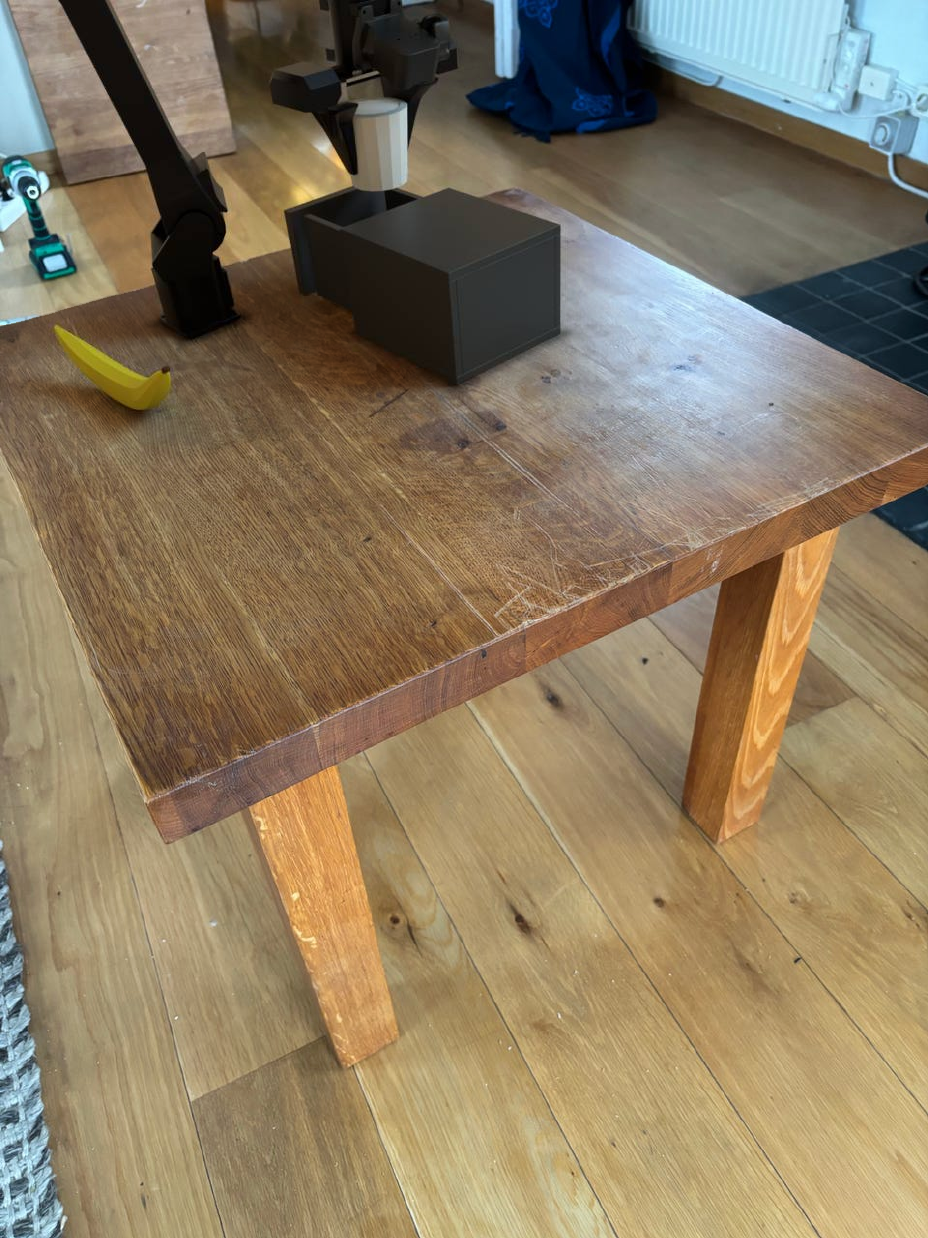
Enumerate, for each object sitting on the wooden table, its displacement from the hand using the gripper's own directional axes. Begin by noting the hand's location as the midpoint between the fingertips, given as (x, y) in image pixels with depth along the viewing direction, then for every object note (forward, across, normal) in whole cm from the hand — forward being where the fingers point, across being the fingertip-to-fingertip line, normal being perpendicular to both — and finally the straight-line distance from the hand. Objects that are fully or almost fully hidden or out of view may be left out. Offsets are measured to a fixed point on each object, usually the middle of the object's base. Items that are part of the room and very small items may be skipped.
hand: (377, 165), depth 97 cm
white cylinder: (+2, 0, 0) cm, 2 cm away
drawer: (+12, -3, 0) cm, 12 cm away
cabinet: (+13, -3, -14) cm, 19 cm away
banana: (+13, -32, +1) cm, 34 cm away
